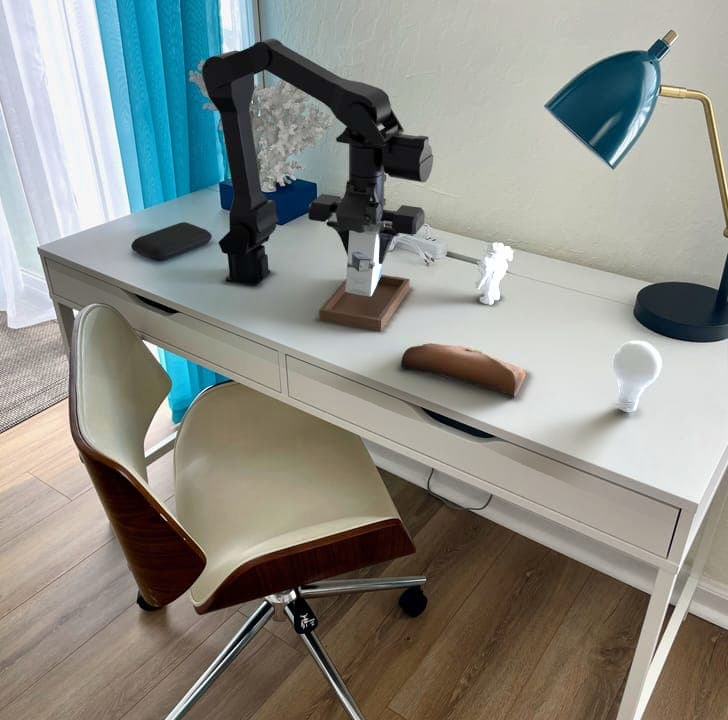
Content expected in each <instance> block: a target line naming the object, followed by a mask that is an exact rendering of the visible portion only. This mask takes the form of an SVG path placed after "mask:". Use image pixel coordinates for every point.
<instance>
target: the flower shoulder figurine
mask: <svg viewBox="0 0 728 720" xmlns="http://www.w3.org/2000/svg"><path fill="white" fill-rule="evenodd" d="M483 252H484V253H486V254H487V257H486V256H484V257H481V258H480V260H478V261H477V262H476V264H478V265H476V268H477V270H478V271H479V273H480V274H481V275H480V277H479V278H478V280H477V281H476V282H475V284H474V286H475V288H476V290H480V289H481V287H482V286H483V285H484V288H483V296H481V297H479V302H480V303H482V304H485V305H493V304H494V301H498V300H499V299H500V289H499V284H500V280H501V279H502V278H503V277H504V276H505V275H506V272H507V269H508V268H509V267H508V263H507V260H508V261H509V262H511V261H512V260H513V257H514V256H513V253H514V250H512V249H511V246H509V245H504V244H503V243H502V242H496V241H495V242H491V243H489V244H487V246H485V247H484V248H483ZM481 269H483V270H481Z"/></svg>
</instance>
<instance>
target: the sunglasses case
mask: <svg viewBox="0 0 728 720" xmlns="http://www.w3.org/2000/svg"><path fill="white" fill-rule="evenodd" d="M400 364H401V365H400V366H401V368H405V369H408V370H413V371H419V372H423V373H430V374H434V375H438V376H439V375H440V376H444V377H447V378H450V379H454V380H457V381H460V382H465V383H470V384H472V385H475V386H479V387H483V388H487V389H490V390H495V391H497V392H501V393H504V394H507V395H512V397H514V398H516V397H517V395H518V394H519V392H520V390H521V388H522V386H523V384H524V382H525V380H526V377H527V372H526V371H525V370H524V369H522V368H520V367H519V366H516V365H515V364H512V363H509V362H507V361H504V360H502V359H498V358H495V357H492V356H490V355H488V354H486V353H484V352H482V351H481V350H477V349H472V348H469V347H465V346H460V345H451V344H450V345H447V344H439V343H425V344H422V345H416V346H410V347H408V348H407V349H406V350H405V351H404V353H403V355H402V358H401V362H400Z"/></svg>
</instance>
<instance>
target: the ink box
mask: <svg viewBox="0 0 728 720" xmlns="http://www.w3.org/2000/svg"><path fill="white" fill-rule="evenodd" d="M384 226H385V225H384V222H382V221H380V222H379V224H378V225H371V226H368V228H367V230H366V231H365V232H363V233H357V232H355V231H349V245H348V256H347V262H346V276H345V279H346V287H345V292H348V293H353V294H358V295H363V296H369V297H370V296H372V294H373V292H374V290H375V288H376V286H377V283H378V281H379V279H380V277H381V275H383V274H382V272H383V263H382V264H379V250H380V241H381V237H380V233H379V232H380V231H381V230H382V229H383V228H384Z"/></svg>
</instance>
